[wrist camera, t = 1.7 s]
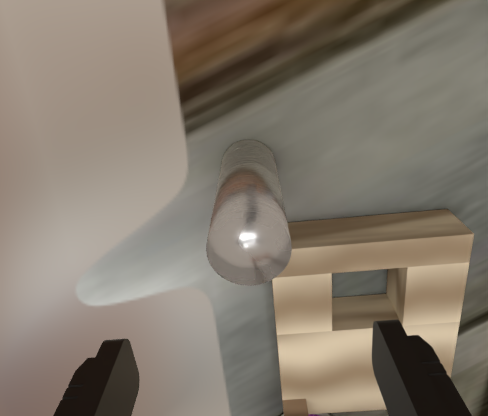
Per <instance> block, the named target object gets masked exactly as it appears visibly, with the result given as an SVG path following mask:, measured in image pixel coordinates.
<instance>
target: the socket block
mask: <svg viewBox="0 0 488 416" xmlns="http://www.w3.org/2000/svg"><path fill="white" fill-rule="evenodd" d="M287 224H288V229H289V234H290V239H291V245H292V252H291V257H290V260H289V262H288V265H287V266H286V268H285V269H284V270H283V271H282V272H281V273H280V274H279V275H278V276H277V277H275V278H274V279H272V286H273V298H274V310H275V321H276V333H277V344H278V356H279V368H280V379H281V390H282V401H283V412H284V416H308V414H322V413H338V412H354V411H370V410H386V409H387V408H386V406H385V403H384V400H383V397H382V395H381V392H380V389H379V386H378V384H377V381H376V378H375V375H374V371H373V366H372V335H373V323H374V321H382V320H395V319H398V320H399V321H400V322H401V324H402V326H403V328H404V330H405V332H406V334H407V336H410V335H419V336H420V337H421V338H422V339H424V340H425V341H426V342H427V343H428V344H430V345H431V346H432V347H433V349H434V351H435V353H436V354H437V356H438V358H439V360H440V363H442V365H443V367H444V368H445V370H446V372H447V375H449V377H450V378H451V372H452V366H453V360H454V353H455V347H456V341H457V335H458V329H459V323H460V317H461V311H462V305H463V298H464V292H465V286H466V280H467V274H468V268H469V262H470V256H471V250H472V244H473V237H474V233H473V232H471V231H470V230H469V229H468V228H467V227H466V226H465V225H464V224H463V223H462V222H461V221H460V220H459V219H458V218H457V217H456V216H454V215H453V214H452V213H451V212H450V211H449V210H448V209H441V210H429V211H418V212H406V213H395V214H383V215H371V216H360V217H348V218H337V219H325V220H313V221H302V222H290V223H287ZM379 269H388V275H387V291H386V294H376V295H363V296H350V297H337V298H332V273H341V272H354V271H367V270H379Z"/></svg>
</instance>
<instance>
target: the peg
mask: <svg viewBox="0 0 488 416" xmlns="http://www.w3.org/2000/svg"><path fill="white" fill-rule="evenodd" d="M206 251H207V257H208V260H209V263H210V264H211V266H212V268H213V269H214V270H215V271H216V272H217V273H218V274H219V275H220V276H221V277H223V278H224V279H226V280H228V281H230V282H233V283H236V284H240V285H258V284H262V283H265V282H268V281H270V280H272V279H274V278H275V277H277V276H278V275H279V274H280V273H281V272H282V271H283V270H284V269H285V268H286V266H287V265H288V262H289V260H290V257H291V252H292V245H291V239H290V234H289V229H288V224H287V219H286V213H285V208H284V203H283V198H282V193H281V188H280V183H279V178H278V173H277V167H276V162H275V158H274V155H273V153H272V152H271V150H270V149H269V148H268V147H267V146H266V145H265V144H263V143H261V142H259V141H256V140H241V141H238V142H236V143H234V144H233V145H231V146H230V147H229V148H228V149H227V150H226V152H225V154H224V156H223V158H222V163H221V169H220V174H219V180H218V185H217V190H216V196H215V201H214V207H213V212H212V217H211V223H210V228H209V234H208V239H207V246H206Z"/></svg>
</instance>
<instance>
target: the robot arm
mask: <svg viewBox="0 0 488 416" xmlns="http://www.w3.org/2000/svg"><path fill="white" fill-rule="evenodd" d="M372 366H373V371H374V375H375V378H376V381H377V384H378V386H379V389H380V392H381V395H382V397H383V400H384V403H385V406H386V408H387V411H388V414H389V416H472V415H471V414H470V412H469V410H468V408H467V407H466V405H465V403H464V401H463V400H462V398H461V396H460V394H459V393H458V391H457V389H456V388H455V386H454V384H453V382H452V381H451V379H450V377H449V375H447V372H446V370H445V368H444V367H443V365H442V363H440V360H439V358H438V356H437V354H436V353H435V351H434V349H433V347H432V346H431V345H430V344H428V343H427V342H426V341H425V340H424V339H422V338H421V337H420V336H419V335H410V336H407V334H406V332H405V330H404V328H403V326H402V324H401V322H400V321H399V320H398V319H395V320H382V321H374V323H373V335H372ZM138 390H139V372H138V368H137V365H136V361H135V358H134V355H133V351H132V348H131V344H130V341H129V340H128V339H116V340H105V341H103V343H102V345H101V347H100V349H99V351H98V353H97V356H96V357H95V358H88V359H87V360H86V361H85V362H84V363H83V364H82V365H81V366H80V367H79V368H78V369H77V370H76V371H75V373H74V375H73V377H72V379H71V381H70V383H69V387H68V388H67V389H66V391H65V393H64V395H63V399H62V400H61V401H60V403H59V406H58V407H57V409H56V412H55V414H54V416H131V414H132V411H133V407H134V404H135V401H136V397H137V394H138Z"/></svg>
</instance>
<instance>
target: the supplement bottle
mask: <svg viewBox="0 0 488 416" xmlns="http://www.w3.org/2000/svg"><path fill="white" fill-rule="evenodd" d="M281 416H284V414H282V415H281ZM308 416H330V415H329V414H327V413H322V414H308Z"/></svg>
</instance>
